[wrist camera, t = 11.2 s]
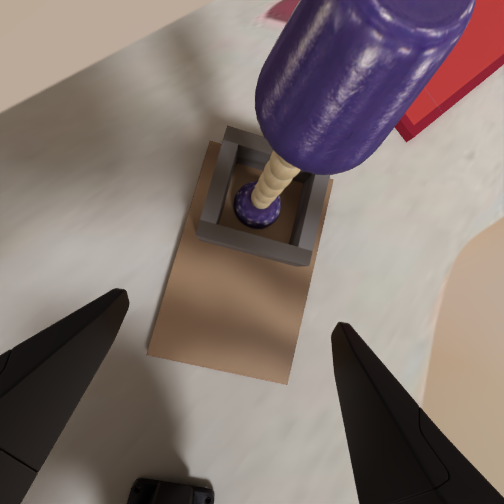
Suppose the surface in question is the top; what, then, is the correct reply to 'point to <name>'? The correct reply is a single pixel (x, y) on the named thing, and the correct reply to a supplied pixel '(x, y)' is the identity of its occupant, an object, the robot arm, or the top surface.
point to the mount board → (241, 268)
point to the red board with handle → (460, 68)
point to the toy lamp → (343, 86)
